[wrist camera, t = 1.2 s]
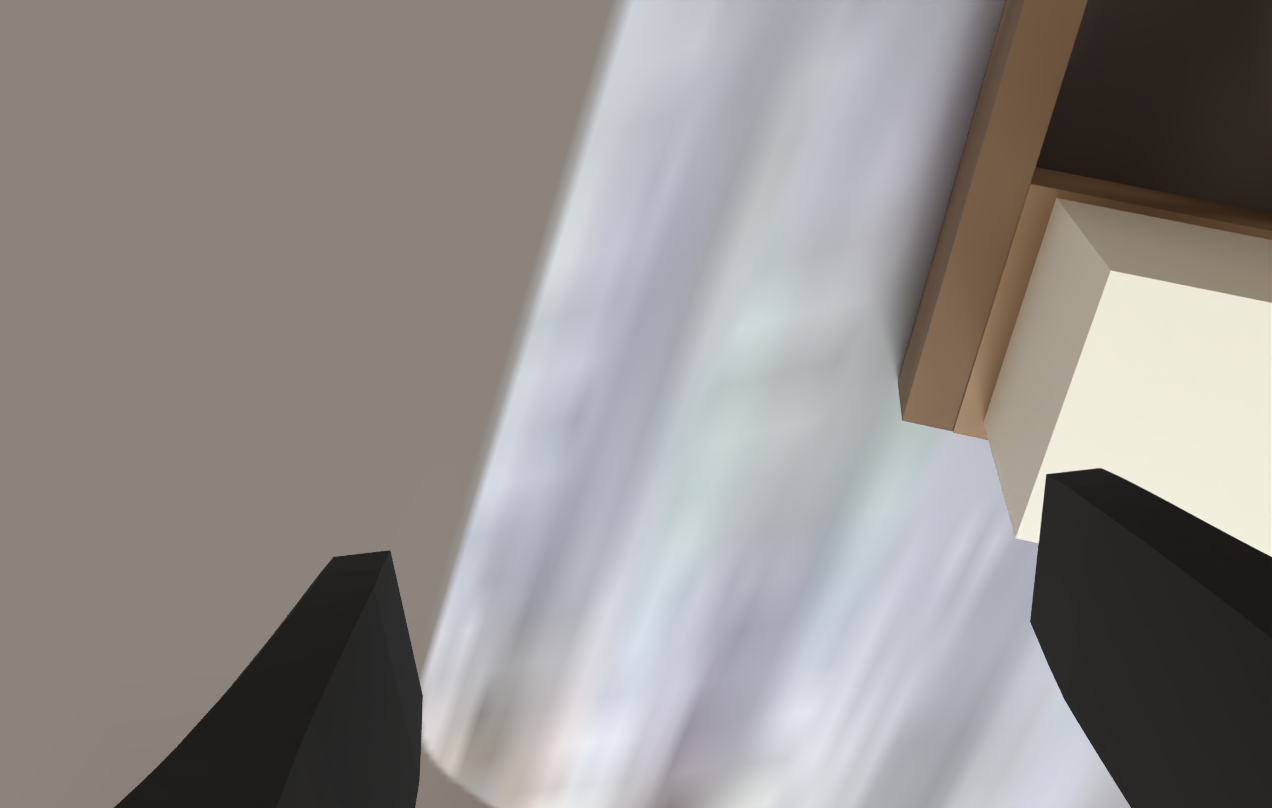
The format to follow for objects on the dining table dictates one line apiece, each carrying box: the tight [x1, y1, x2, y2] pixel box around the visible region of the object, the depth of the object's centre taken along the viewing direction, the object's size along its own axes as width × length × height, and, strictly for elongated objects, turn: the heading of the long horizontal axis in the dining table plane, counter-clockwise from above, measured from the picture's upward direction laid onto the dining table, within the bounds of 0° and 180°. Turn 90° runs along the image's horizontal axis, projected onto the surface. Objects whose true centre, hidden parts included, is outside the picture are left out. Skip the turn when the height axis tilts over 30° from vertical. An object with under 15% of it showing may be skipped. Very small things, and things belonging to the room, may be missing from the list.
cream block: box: [984, 198, 1272, 557], centre depth 19 cm, size 4×4×4 cm
